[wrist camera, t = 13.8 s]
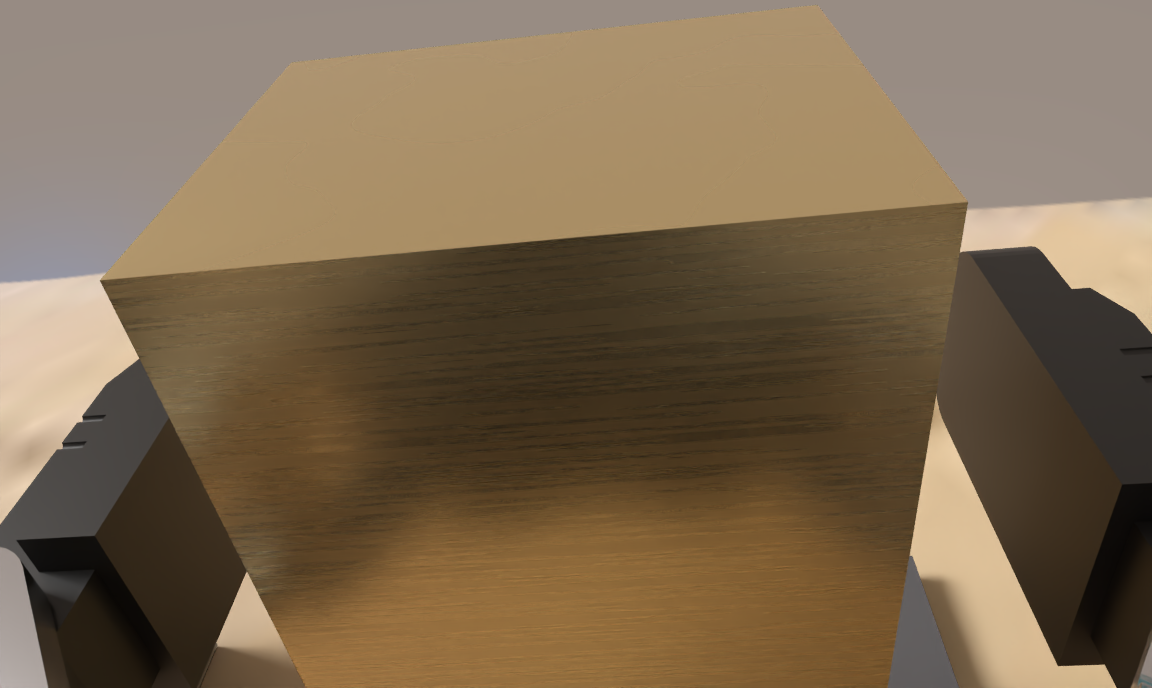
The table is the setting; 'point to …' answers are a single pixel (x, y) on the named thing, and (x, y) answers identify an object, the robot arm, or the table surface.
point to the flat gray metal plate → (919, 642)
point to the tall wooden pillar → (564, 356)
